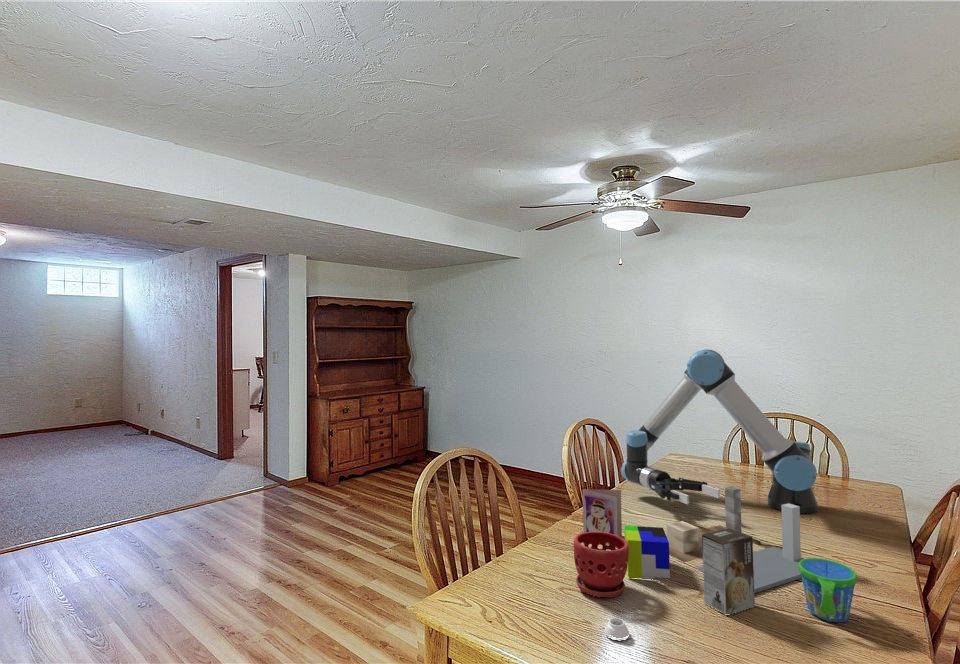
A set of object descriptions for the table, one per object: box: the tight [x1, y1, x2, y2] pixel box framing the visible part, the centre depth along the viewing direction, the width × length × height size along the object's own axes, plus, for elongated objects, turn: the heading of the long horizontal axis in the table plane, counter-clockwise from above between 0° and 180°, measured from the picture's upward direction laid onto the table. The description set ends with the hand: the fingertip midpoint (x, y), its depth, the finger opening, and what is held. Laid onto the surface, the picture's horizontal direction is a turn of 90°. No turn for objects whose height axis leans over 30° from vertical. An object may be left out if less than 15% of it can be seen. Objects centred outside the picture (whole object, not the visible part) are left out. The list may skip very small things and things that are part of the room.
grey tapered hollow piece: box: [604, 617, 630, 638], centre depth 104 cm, size 5×3×5 cm
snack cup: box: [799, 557, 858, 623], centre depth 110 cm, size 16×10×10 cm
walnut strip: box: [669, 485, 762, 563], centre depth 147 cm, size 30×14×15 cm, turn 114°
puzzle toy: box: [624, 525, 671, 580], centre depth 132 cm, size 10×10×10 cm
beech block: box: [666, 520, 700, 553], centre depth 144 cm, size 6×6×6 cm
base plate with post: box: [695, 503, 805, 594], centre depth 131 cm, size 30×14×15 cm, turn 114°
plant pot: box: [573, 532, 629, 598], centre depth 124 cm, size 13×13×12 cm
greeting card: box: [582, 488, 623, 537], centre depth 152 cm, size 11×7×15 cm, turn 47°
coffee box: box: [702, 528, 756, 615], centre depth 115 cm, size 9×6×16 cm
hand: (703, 496), depth 162 cm, fingers open, 13 cm apart
